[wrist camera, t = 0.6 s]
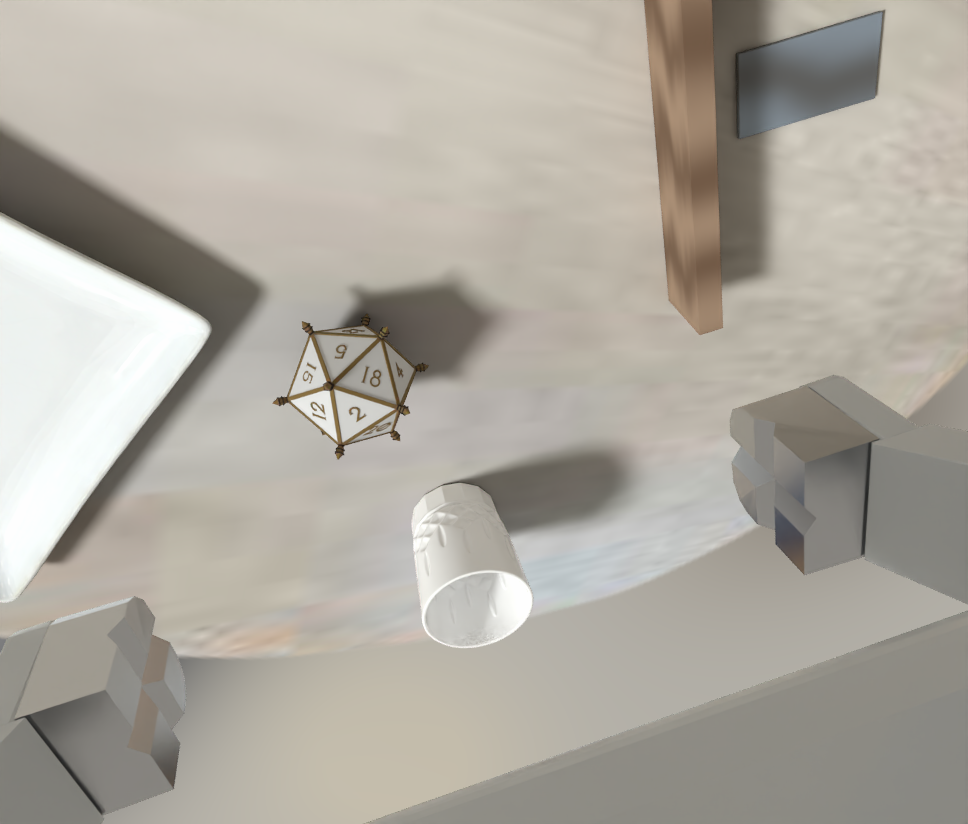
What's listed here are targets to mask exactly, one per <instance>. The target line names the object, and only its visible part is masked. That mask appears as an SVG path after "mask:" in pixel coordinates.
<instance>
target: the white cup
mask: <svg viewBox="0 0 968 824" xmlns="http://www.w3.org/2000/svg"><path fill="white" fill-rule="evenodd" d="M411 526H412V533H413V539H414V557H415V568H416V577H417V584H418V591H419V599H420V607H421V614H422V622H423V626H424V628H425V630H426V632H427V633H428V635H429V636H430V637H431V638H433V639H434V640H436V641H437V642H439V643H441V644H444V645H447V646H451V647H457V648H473V647H480V646H485V645H488V644H491V643H494V642H497V641H499V640H501V639H503V638H505V637H507V636H508V635H510V634H512V633H513V632H514V631H515V630H517V629H518V628H519V627H520V626H521V625H522V624H523V623H524V622H525V620H526V619H527V618H528V616H529V614H530V612H531V610H532V606H533V593H532V590H531V588H530V585H529V583H528V581H527V578H526V576H525V573H524V571H523V568H522V566H521V563H520V561H519V558H518V556H517V554H516V551H515V549H514V546H513V544H512V541H511V539H510V536H509V534H508V532H507V530H506V528H505V526H504V523H503V522H502V521H501V519H500V517H499V515H498V513H497V511H496V508H495V506H494V503H493V501H492V498H491V496H490V495H489V494H488V493H486V492H485V491H484V490H482V489H481V488H480V487H478V486H475V485H470V484H465V483H455V484H449V485H443V486H440V487H438V488H436V489H434V490H433V491H431V492H429V493H427V494H426V495H424V496H423V498H422V499H421V500H420V501H419V503H418V504H417V505H416V506H415V508H414V510H413V516H412V522H411Z"/></svg>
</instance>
